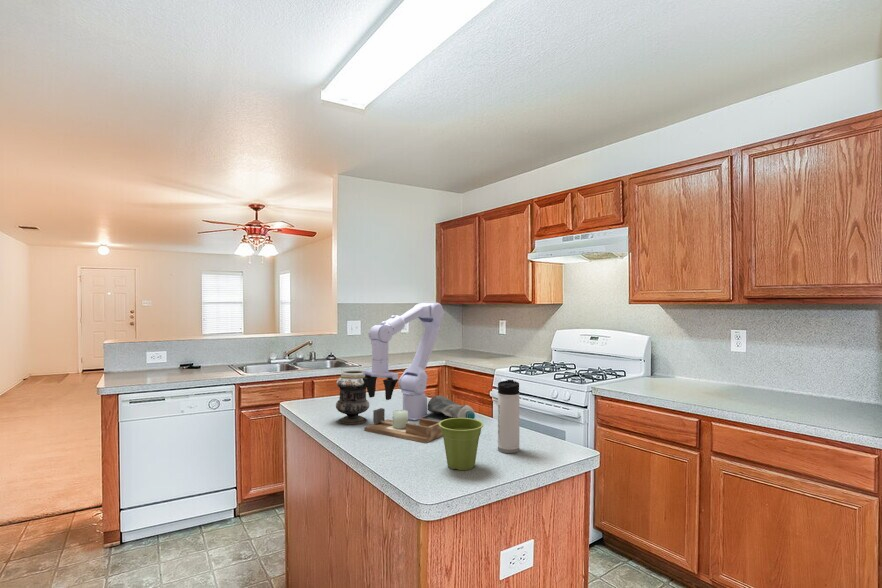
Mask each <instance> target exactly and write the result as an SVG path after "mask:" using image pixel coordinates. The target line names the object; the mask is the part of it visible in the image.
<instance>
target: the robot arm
mask: <svg viewBox="0 0 882 588" xmlns="http://www.w3.org/2000/svg"><path fill="white" fill-rule="evenodd" d="M413 306H414V307H412V308H410V309H408V310H407V311H406V312H404V313H403V314H402V315H397V314H396V315H395V314H393V315H392V314H391V316H390V318H389V319H388V318H387V319H386V320H385V321H381V322H380V324H379V325H378V324H375V325H373V326H372V327H371V328H370V330H369V332H368V334H367V335H368V338H369V340H370V344H371V369H365V370H363V369H362V370H363V376H365V378H363V381H364V383H365V385H366V391H367V393H368V397H369V398H374V397H375V395H376V383H377V380H378V378H381V379H383V380H382V382H383V384H384V385H383V386H384V391H385V393H384V394H385V395H384V396H385V401H388V400H391V399H392V396H393V393H394V390H395V387H396V385H397V383H398V388H399V389H400V390H401V394H402V410H406V411H408V421H409V420H410V421H417V420H419V419H420V418H423V419H424V418H425V417H428V416H430V413H428V410H427V409H428V397H427V394H426V393H425V391H426V389H427V384H428V383H427V382H428V377H429V376H428V374H427V372H426V371H425V370H426V368H427V365H428V362H429V360H430V358H431V357H430V356H431V355H432V352H433V349H434V346H435V345H436V344H435V343H436V341H437V338H438V337H439V333H440V330H441V323H442V321H443V318H444V315H445V311H444V308H443V305H442V304H441V303H440V302H419V303H417V304H414V305H413ZM417 318H418V320H419V321H420V323H421V324H422V326H423V328H424V330H423V334H422V337H420V341H419V344H418V347H417V349H416V352H415V354H414V357H413V360H412V362H411V365H410V366H409V367H407V368H406V369H405V370H404V371H403V373H402V375H401V376H400V377H399V373H397V372H392V371H389V342H390V341H391V339H392V337H393V336H394V335H395V334H397V333H399V332H401V331H402V330H404V329H405V326H406V325H407V324H409V323H410V322H412V321H414V320H417Z"/></svg>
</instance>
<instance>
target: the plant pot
mask: <svg viewBox="0 0 882 588" xmlns="http://www.w3.org/2000/svg"><path fill="white" fill-rule="evenodd" d="M439 421H440V422H439V426H440V427H441V431H442V435H443V436H442V439H443V444H444V451H445V458H446V463H447V466H448V468H449V469H451V470H455V469H456V470H458V471H469V470H471V469H473V468H474V467H475V466H476V460H477V459H476V458H477V452H478V447H479V441H480V436H481V434H482V428H483V427H484V422H483V421H481V420H479V419H475V418H474V419H470V418H456V417H455V418H453V417H449V418H446V419H443V420H439Z"/></svg>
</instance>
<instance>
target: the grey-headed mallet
mask: <svg viewBox="0 0 882 588" xmlns="http://www.w3.org/2000/svg"><path fill="white" fill-rule="evenodd" d="M385 411H386V409H385V408H382V407H380V408H377V409H373V411H372V412H373V415H372V418H373V421H372V422H373V423H372V424H379V423H385V424H391V425H393V428H396V429H404V428H406V424H407V423H409V419H408V411H406V410H403V409H396V410H393V411H392V420H393V423H392V422H386V421H385V420H386V419H385Z"/></svg>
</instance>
